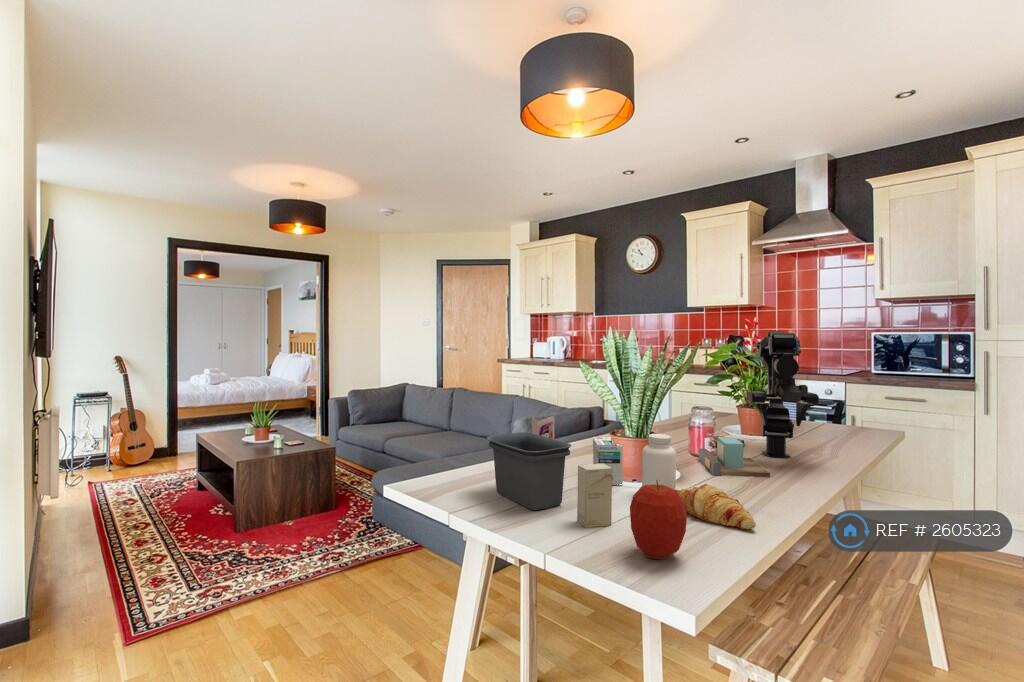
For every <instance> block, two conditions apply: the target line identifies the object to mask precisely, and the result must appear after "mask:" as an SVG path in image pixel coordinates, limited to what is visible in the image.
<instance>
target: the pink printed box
mask: <svg viewBox="0 0 1024 682" xmlns="http://www.w3.org/2000/svg"><path fill="white" fill-rule="evenodd" d="M531 433H534V434H537V435H541V436H545V437H548V438H552V439H555V415H551V416H550V417H546V418H544V419H540V420H538V421H537V419H536V418H535V417H534V415H533V414H531Z"/></svg>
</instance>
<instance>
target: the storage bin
mask: <svg viewBox="0 0 1024 682" xmlns="http://www.w3.org/2000/svg"><path fill="white" fill-rule="evenodd" d="M486 439H487V440H488V441H489V442H488V447H489V448H491V449H492V452H493V463H494V472H495V473H494V475H495V476H494V477H495V488H496V493H497V492H498V494H499V493H500V494H499V495H501V496H503V497H505V498H508V499H509V500H511V501H513V502H515V503H517V504H519V505H522V506H523V507H526V508H527V509H529V510H531V511H532V510H533V511H539V510H543V509H547V508H552V507H556V506H559V505H561V504H562V503H563V492H564V479H565V467H566V466H565V464H566V457H568V456H570V455H571V450H570V448H571V447H572V446H573V444H571V443H569V442H565V441H563V440H559V439H555V438H554V439H552V438H548V437H545V436H541V435H537V434H534V433H532V432H527V431H523V432H521V431H520V432H511V433H503V434H494V435H493V434H492V435H489V436H487V438H486Z"/></svg>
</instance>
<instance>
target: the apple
mask: <svg viewBox="0 0 1024 682" xmlns="http://www.w3.org/2000/svg"><path fill="white" fill-rule="evenodd" d="M656 482H657V485H645V486H642V485H641V487H640V488H639V489H638V490H637V491H636V492H635V493H634V494H633V496H632V499H631V503H630V505H629V514H630V517H629V518H630V530H631V533H632V535H633V538H634V541H635V543H636V547H637V548H638V549H639V550H640V551H641V552H642V553H643V554H644V555H645V556H646V557H647V558H650V559H653V560H663V559H666V558H669V557H671V556H672V555H674V554H675V553H677V552H678V551H679V550H680V548H681V546H682V542H683V540H684V537H685V534H686V532H687V523H688V522H687V521H688V520H687V519H688V512H687V511H686V509H685V507H684V504H683V501H682V499H681V497H680V496H679V495H678V493H677V492H676V491H675V490H676V489H675V490H674V489H672V488H669V487H667V486H664V485H658V481H657V480H656Z"/></svg>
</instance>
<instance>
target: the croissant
mask: <svg viewBox="0 0 1024 682" xmlns="http://www.w3.org/2000/svg"><path fill="white" fill-rule="evenodd" d="M675 491H676V492H677V493H678V495H679V496H680V497H681V499H682V501H683V504H684V507H685V509H686V512H687V514H689V515H691V516H693V517H695V516H696V517H695V518H698V519H700V520H702V521H704V520H705V522H708V523H713V524H718V525H720V524H721V525H722V526H726V527H727V526H728V527H729V526H730V527H733V528H734V527H737V528H739V529H742V530H751V529H754V528H756V526H757V525H756V524H757V523H756V522H755V519H754V517H753V516H752V514H751V513H750V512H749V511H748V510H747V509H745V508H744V505H742V504H741V502H740V501H739V499H737V498H732V497H729V496H728V494H727V493H726V492H725V490H723V489H721V488H718V487H716V486H714V485H710V484H707V483H704V484H702V485H700V486H699V487H698V486H693V487H692V488H690V489H687V488H683V489H675Z"/></svg>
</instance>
